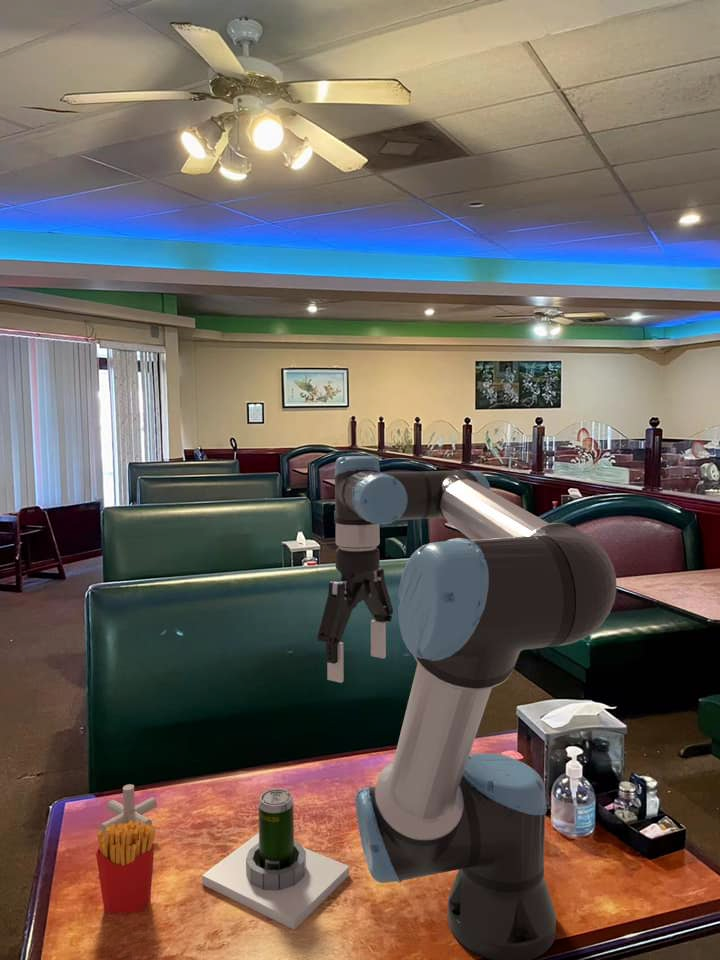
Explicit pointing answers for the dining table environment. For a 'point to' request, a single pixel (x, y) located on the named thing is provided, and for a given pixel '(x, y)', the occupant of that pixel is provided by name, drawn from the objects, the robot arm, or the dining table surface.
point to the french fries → (126, 866)
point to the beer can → (276, 830)
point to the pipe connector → (129, 809)
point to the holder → (277, 882)
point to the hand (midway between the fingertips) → (357, 668)
